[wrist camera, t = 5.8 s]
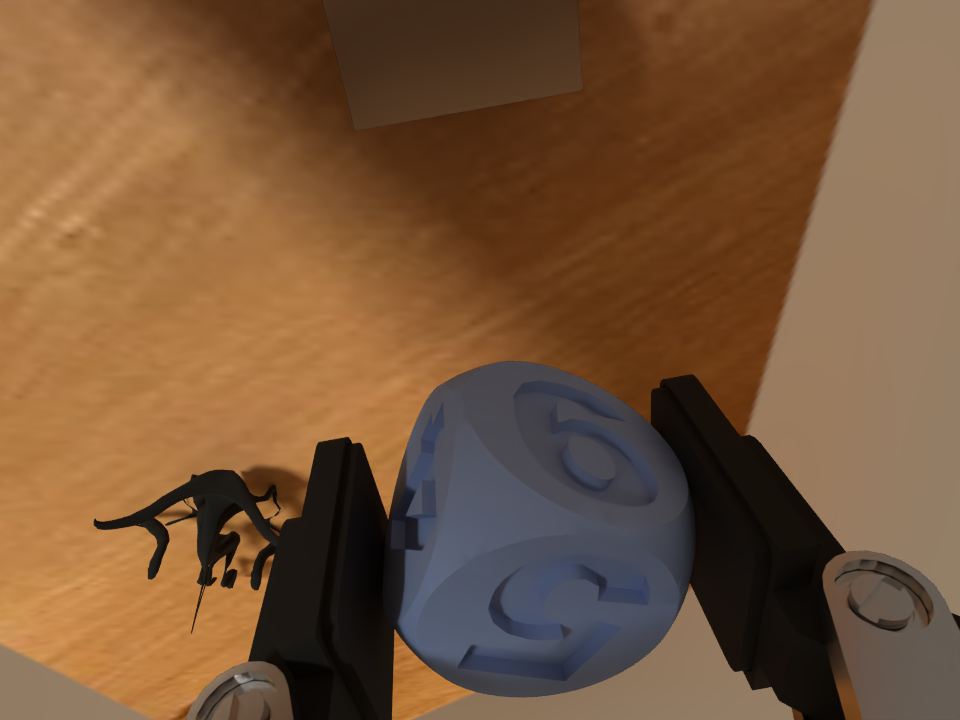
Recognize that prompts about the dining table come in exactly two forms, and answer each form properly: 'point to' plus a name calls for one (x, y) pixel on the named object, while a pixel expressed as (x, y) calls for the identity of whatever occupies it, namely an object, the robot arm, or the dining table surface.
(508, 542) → the decorative dice
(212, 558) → the creature
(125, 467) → the dining table surface
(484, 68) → the walnut block
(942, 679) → the robot arm
